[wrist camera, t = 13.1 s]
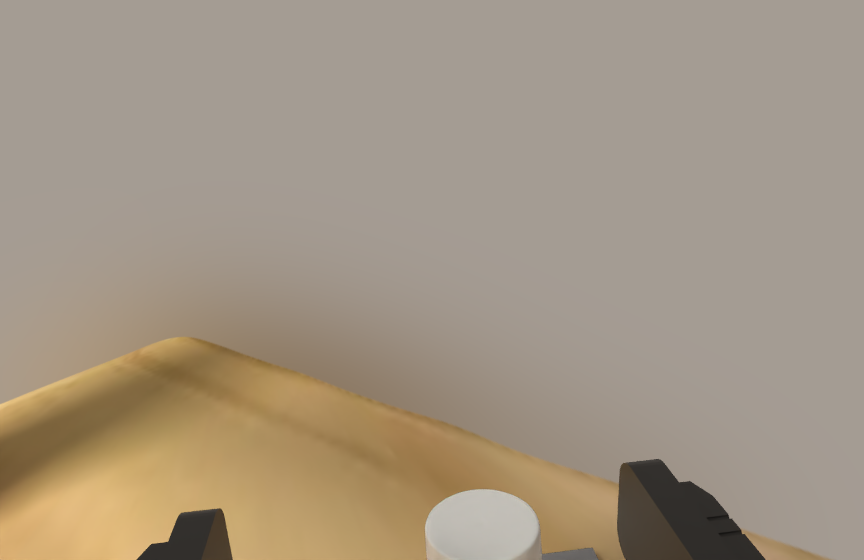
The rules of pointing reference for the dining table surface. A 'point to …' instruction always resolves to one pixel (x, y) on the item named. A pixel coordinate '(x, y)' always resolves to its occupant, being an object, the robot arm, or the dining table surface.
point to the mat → (572, 555)
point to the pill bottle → (483, 528)
